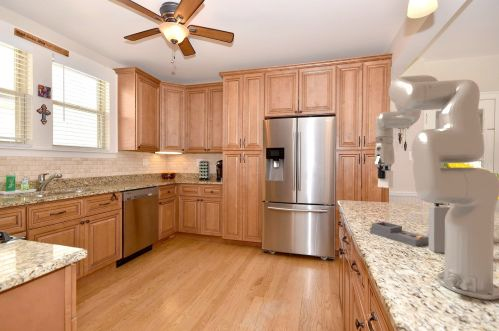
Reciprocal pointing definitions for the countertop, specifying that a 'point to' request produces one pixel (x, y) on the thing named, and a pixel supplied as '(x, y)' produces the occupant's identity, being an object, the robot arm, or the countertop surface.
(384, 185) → the charger
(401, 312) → the countertop surface
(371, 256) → the countertop surface
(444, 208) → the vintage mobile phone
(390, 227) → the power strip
